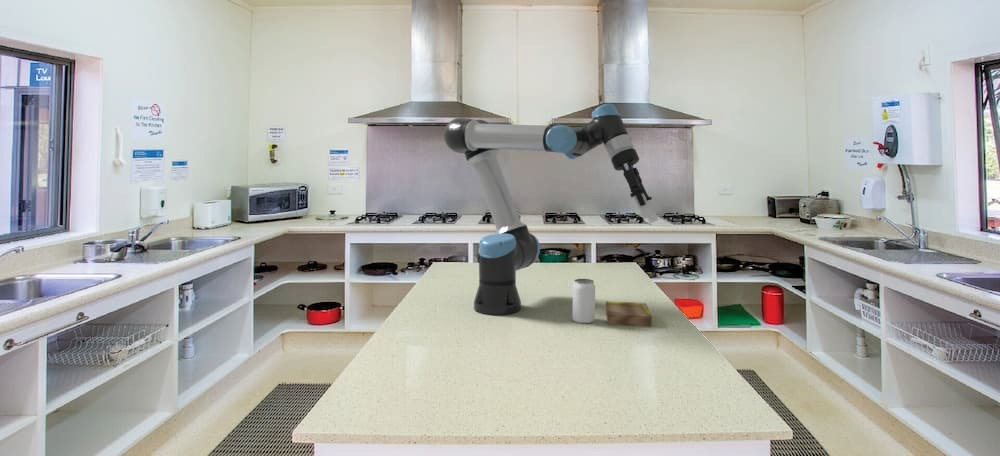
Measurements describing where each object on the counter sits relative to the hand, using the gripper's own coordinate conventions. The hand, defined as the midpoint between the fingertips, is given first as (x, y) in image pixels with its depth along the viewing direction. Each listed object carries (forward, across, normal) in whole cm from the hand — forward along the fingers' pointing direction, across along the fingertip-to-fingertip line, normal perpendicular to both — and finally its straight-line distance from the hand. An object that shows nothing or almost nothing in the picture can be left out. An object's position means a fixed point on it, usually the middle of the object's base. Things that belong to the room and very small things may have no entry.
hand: (651, 219), depth 141 cm
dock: (+24, +6, +18) cm, 31 cm away
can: (+20, 0, +30) cm, 36 cm away
